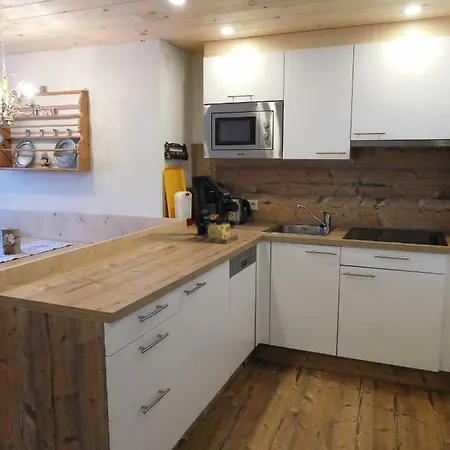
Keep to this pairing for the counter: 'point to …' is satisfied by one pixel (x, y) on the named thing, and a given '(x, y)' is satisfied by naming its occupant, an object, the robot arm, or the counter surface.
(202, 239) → the bay
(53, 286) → the counter surface
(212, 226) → the cheese
